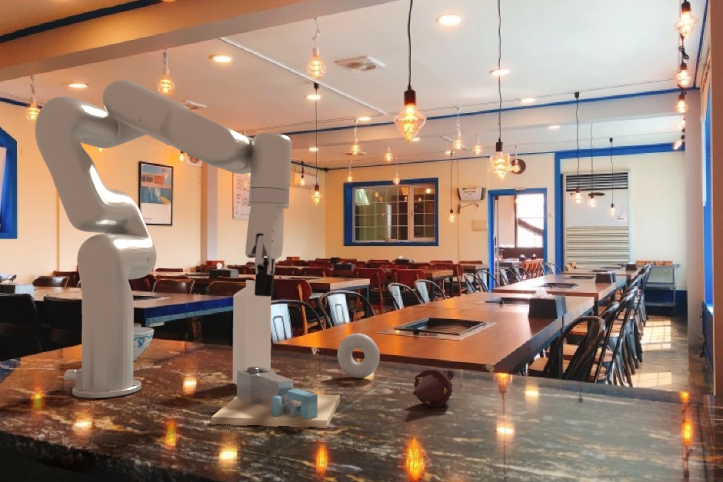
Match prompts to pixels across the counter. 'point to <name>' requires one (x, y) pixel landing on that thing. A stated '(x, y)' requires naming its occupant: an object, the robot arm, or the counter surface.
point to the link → (267, 390)
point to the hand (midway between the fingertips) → (263, 295)
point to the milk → (251, 330)
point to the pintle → (253, 370)
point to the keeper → (304, 397)
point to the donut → (369, 351)
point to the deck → (260, 415)
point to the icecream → (433, 387)
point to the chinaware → (141, 340)
